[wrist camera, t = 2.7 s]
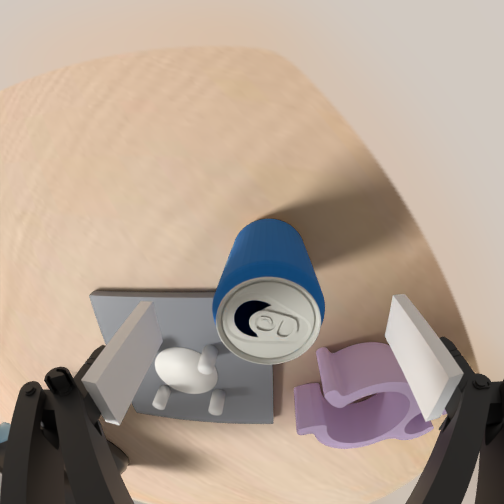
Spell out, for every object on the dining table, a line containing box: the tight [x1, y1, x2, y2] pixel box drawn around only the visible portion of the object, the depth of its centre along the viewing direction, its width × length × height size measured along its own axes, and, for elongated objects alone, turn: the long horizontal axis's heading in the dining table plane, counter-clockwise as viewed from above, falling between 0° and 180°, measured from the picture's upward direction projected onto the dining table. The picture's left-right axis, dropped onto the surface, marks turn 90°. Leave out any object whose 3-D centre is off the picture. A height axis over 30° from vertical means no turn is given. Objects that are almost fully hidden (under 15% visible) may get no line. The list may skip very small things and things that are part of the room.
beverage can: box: [212, 219, 325, 365], centre depth 20 cm, size 6×6×12 cm
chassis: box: [89, 291, 273, 424], centre depth 29 cm, size 20×20×4 cm
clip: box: [294, 342, 447, 449], centre depth 28 cm, size 20×12×7 cm, turn 72°
